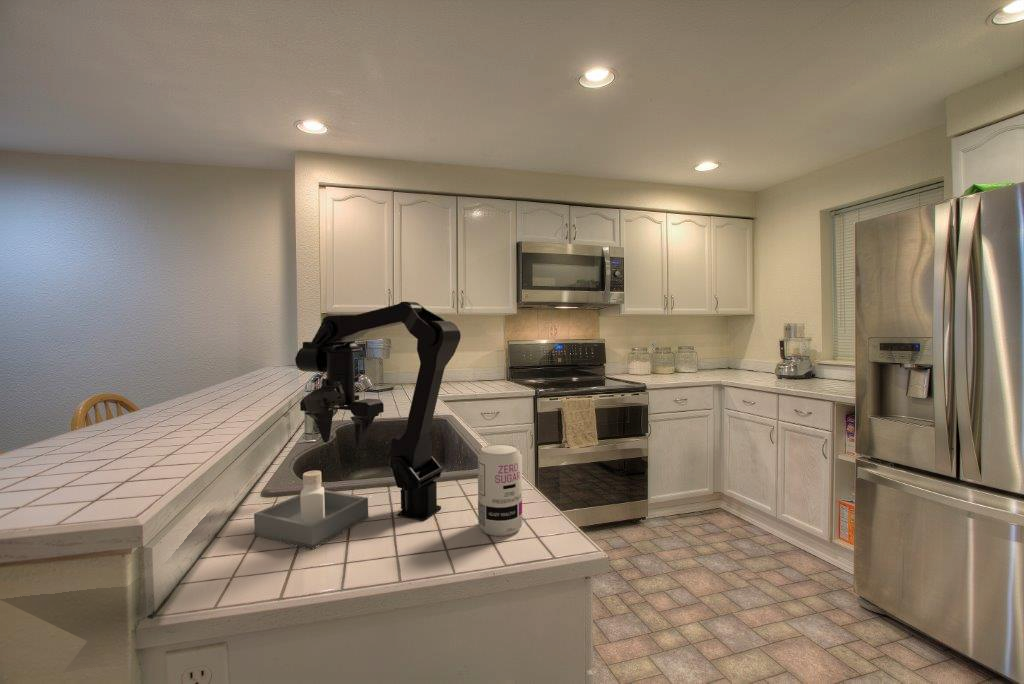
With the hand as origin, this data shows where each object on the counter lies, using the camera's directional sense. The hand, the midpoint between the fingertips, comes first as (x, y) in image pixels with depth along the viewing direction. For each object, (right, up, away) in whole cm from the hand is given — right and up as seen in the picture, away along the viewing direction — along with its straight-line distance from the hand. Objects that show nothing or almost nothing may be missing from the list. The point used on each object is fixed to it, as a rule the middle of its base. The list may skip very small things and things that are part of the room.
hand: (342, 444), depth 101 cm
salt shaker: (0, -12, -14) cm, 18 cm away
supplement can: (+35, -13, -14) cm, 40 cm away
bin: (-1, -13, -13) cm, 18 cm away
